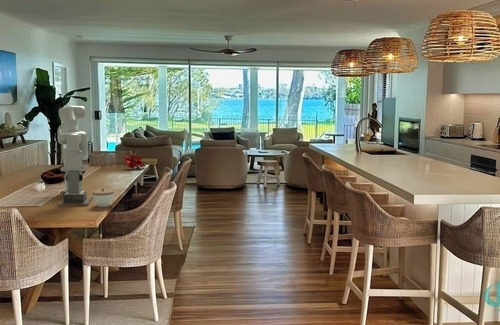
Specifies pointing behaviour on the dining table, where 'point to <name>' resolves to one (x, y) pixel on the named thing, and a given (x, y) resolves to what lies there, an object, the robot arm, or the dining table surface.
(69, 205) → the stand
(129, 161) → the sculptural form
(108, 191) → the lidded bowl
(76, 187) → the perfume bottle
